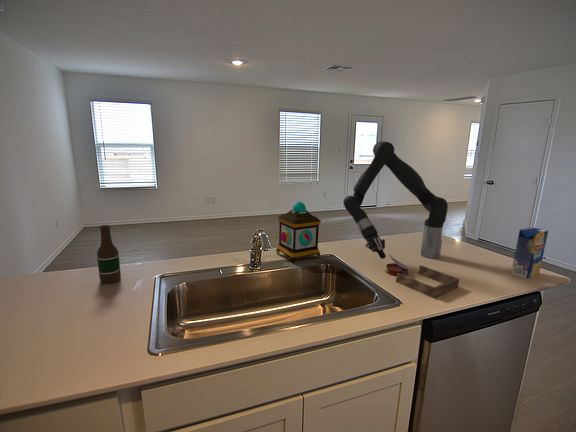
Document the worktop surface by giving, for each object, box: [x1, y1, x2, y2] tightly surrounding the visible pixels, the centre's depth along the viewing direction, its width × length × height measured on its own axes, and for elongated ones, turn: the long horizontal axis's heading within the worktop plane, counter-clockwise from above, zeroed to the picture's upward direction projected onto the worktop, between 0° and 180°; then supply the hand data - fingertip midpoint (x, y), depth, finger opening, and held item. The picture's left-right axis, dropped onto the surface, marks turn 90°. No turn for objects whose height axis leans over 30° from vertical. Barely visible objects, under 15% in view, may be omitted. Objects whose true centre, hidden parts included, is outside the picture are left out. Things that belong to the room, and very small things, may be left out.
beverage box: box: [510, 227, 549, 279], centre depth 144 cm, size 7×11×22 cm, turn 118°
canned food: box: [385, 254, 409, 277], centre depth 143 cm, size 11×10×10 cm
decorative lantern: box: [275, 201, 322, 264], centre depth 160 cm, size 20×20×30 cm
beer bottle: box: [96, 224, 122, 285], centre depth 126 cm, size 8×8×24 cm
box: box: [395, 265, 460, 299], centre depth 131 cm, size 18×18×4 cm
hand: (384, 258), depth 149 cm, fingers closed
